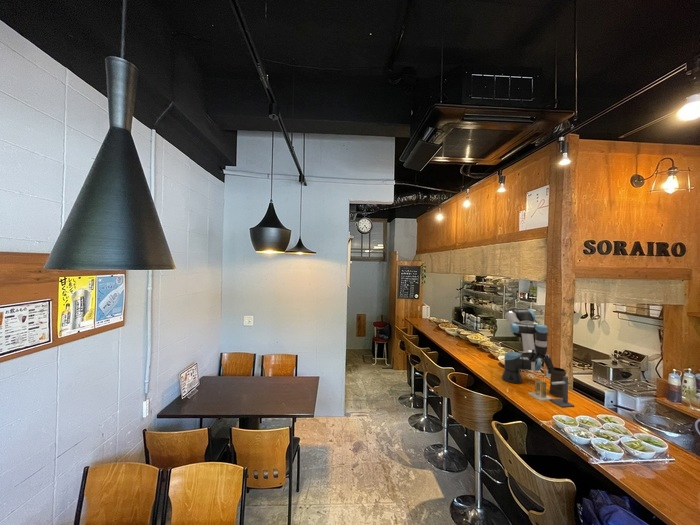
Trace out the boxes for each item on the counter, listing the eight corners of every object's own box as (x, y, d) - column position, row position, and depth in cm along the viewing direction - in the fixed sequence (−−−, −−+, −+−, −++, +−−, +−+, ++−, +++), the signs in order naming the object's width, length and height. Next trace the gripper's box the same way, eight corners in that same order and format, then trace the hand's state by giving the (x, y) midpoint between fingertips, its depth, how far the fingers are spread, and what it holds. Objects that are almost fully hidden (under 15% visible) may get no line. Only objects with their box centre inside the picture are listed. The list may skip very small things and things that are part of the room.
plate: (528, 394, 217) (528, 392, 217) (540, 393, 219) (540, 391, 219) (540, 401, 206) (540, 399, 206) (553, 400, 208) (553, 398, 208)
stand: (546, 401, 207) (546, 375, 207) (561, 399, 209) (561, 374, 209) (558, 408, 197) (558, 380, 197) (574, 406, 199) (574, 379, 199)
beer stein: (570, 399, 210) (569, 371, 212) (553, 397, 213) (553, 370, 214) (559, 391, 225) (558, 365, 227) (544, 389, 228) (543, 364, 229)
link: (534, 393, 216) (535, 379, 216) (538, 393, 216) (538, 378, 216) (542, 397, 209) (542, 383, 209) (546, 397, 210) (546, 382, 210)
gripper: (523, 341, 224) (523, 367, 225) (551, 351, 200) (550, 381, 200) (531, 340, 226) (531, 367, 226) (560, 350, 201) (559, 380, 202)
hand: (540, 373), depth 213 cm, fingers open, 13 cm apart
